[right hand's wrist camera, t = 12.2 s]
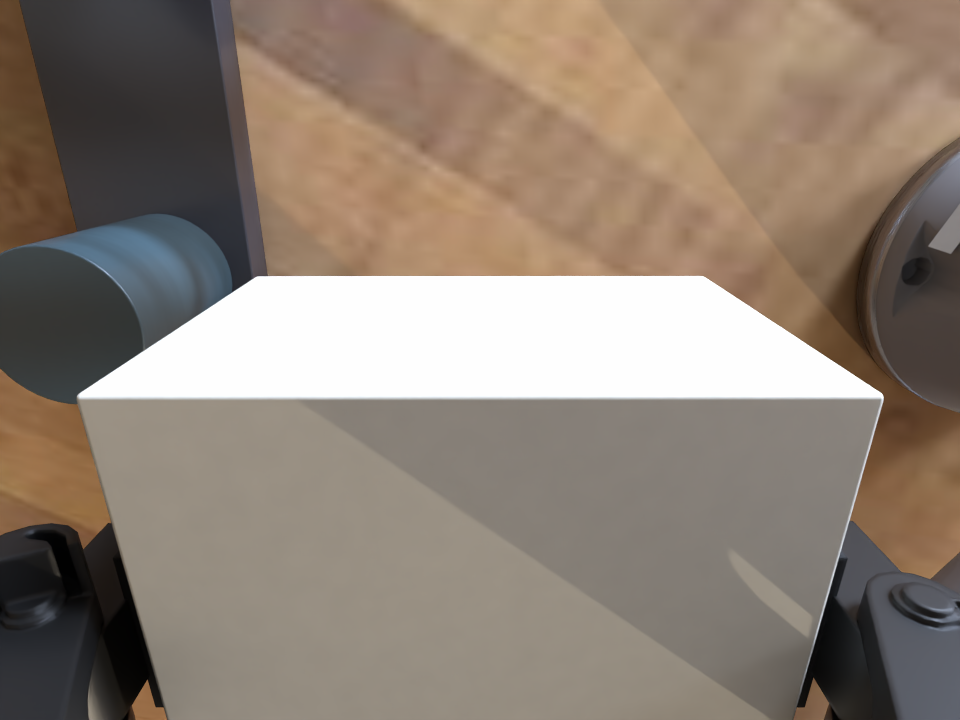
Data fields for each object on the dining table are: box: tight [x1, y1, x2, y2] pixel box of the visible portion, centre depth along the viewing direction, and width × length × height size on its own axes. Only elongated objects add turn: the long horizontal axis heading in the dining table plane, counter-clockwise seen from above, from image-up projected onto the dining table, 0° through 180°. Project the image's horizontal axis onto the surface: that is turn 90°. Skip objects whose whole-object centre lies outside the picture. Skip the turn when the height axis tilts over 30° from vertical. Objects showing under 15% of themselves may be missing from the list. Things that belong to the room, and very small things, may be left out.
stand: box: [0, 0, 267, 404], centre depth 22 cm, size 26×8×10 cm, turn 0°
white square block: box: [77, 276, 884, 720], centre depth 9 cm, size 8×8×5 cm
